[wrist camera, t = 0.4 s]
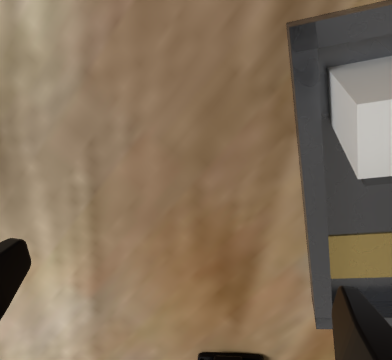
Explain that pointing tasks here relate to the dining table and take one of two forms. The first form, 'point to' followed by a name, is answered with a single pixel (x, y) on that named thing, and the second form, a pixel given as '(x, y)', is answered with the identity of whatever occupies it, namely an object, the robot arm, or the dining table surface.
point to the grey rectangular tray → (339, 163)
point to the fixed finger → (364, 116)
